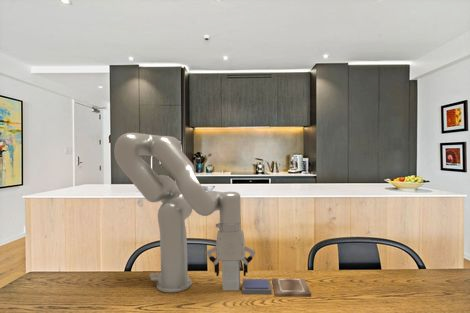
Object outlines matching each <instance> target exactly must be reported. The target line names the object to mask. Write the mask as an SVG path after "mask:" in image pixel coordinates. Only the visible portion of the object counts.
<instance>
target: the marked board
mask: <svg viewBox="0 0 470 313" xmlns="http://www.w3.org/2000/svg"><path fill="white" fill-rule="evenodd" d="M271 281H272V282H271V283H272V286H273V292H274V297H296V298H297V297H298V298H299V297H304V298H305V297H306V298H307V297H312V292H311V290H310V287H309V286H308V283H307V281H306V278H272V280H271Z"/></svg>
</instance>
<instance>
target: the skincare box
mask: <svg viewBox="0 0 470 313" xmlns="http://www.w3.org/2000/svg"><path fill="white" fill-rule="evenodd" d="M240 272H241V270H240V261H221V273H222V274H221V278H222V279H221V280H222V291H234V292H235V291H237V292H238V291H239V292H240V289H241V288H240V287H241V275H240V274H241V273H240Z"/></svg>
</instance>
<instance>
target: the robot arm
mask: <svg viewBox="0 0 470 313" xmlns="http://www.w3.org/2000/svg"><path fill="white" fill-rule="evenodd" d="M179 140H180V139H177V138H176V137H175V136H170V135H157V134H148V133H140V132H127V133H123V134H122V135H120V136H119V137H118V138H117V140H116V142H115V144H114V149H113V150H114V151H113V152H114V159H115V161H116V163H117V165H118V166H119V168H120V169H121V171H122V172H123V173H124V175H126V176H127V177H128V178H129V180H130V182H132V183H133V185H134V186H135V187H136V189H137V190H138V191H139V192H140V193H141V195H142V196H143V198H144V199H145V200H146V201H148V202H150V203H158V202H161V203H162V204H161V205H160V207H159V209H158V211H157V222H158V227H159V228H158V229H159V244H160V245H159V246H160V247H159V248H160V249H159V250H160V272H158V273H157V272H151V273H150V274H149V279H150V281H152V282H155V281H157V282H156V288H157V290H159V291H160V292H163V293H179V292H182V291H186V290H187V289H189V288H190V287H191V286H192V285H193V280H192V279H191V278H190V277H189V276H188V244H187V243H188V241H187V240H188V238H187V237H188V236H187V235H188V234H187V229H186V228H187V227H186V223H185V221H186V220H187V219H188V218H189V217H190V216H191V215H192V212H193V211H194V212H195V213H196V214H198V215H200V216H203V217H208V216H211V215H212V214H213V213H214V212H216V211H219V223H215V228H216V229H217V228H218V229H219V230H217V234H216V240H215V241H216V245H215V246H214V247H211V248H210V249H208V250H206V255H207V258H209V260H210V261H211V262H212V264H213V266H214V274H216V275H215V277H218V276H219V275H220V261H221V262H222V261H239V262H240V261H242V262H243V277H246V276H247V275H246V274H247V273H248V266H249V263H250V262H251V261H252V260H253V258H254V257H255V254H256V250H254V249H252V248H250V247H248V246H246V243H245V235H244V230H243V229H242V215H241V212H242V211H241V210H242V209H241V203H242V201H241V194H240V193H239V192H238V191H216V190H207V191H206V189H205V187H203V186H202V184H201V183H200V181H199V179H198V178H197V175H196V173H195V172H196V171H195V166H194V164H193V163H192V161H191V160H190V159H189V158H188V156H186V154H185V153H184V152H183V150H182V144H181V141H179ZM141 156H150V157H155V158H156V159H157V160H158V161H159V162H160V163H161V165H162V166H163V168H165V170H166V171H167V172H168V173H169V175H171V177H172V178H171V177H170V176H168V175H166V174H159V175H158V174H157V173H156V172H155V170H154V169H153V168H152V167H151V166H150V164H149V163H148V162H146V161H145V160H144V159H143V158H142V157H141ZM246 252H247V253H249V256H248V257H247V256H246ZM213 253H215V254H216V255H215V256H214V255H213Z"/></svg>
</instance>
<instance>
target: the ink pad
mask: <svg viewBox="0 0 470 313" xmlns="http://www.w3.org/2000/svg"><path fill="white" fill-rule="evenodd" d="M241 286H242V287H241V291H242V295H272V294H273V292H272V282H271V279H269V278H242V285H241Z"/></svg>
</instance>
